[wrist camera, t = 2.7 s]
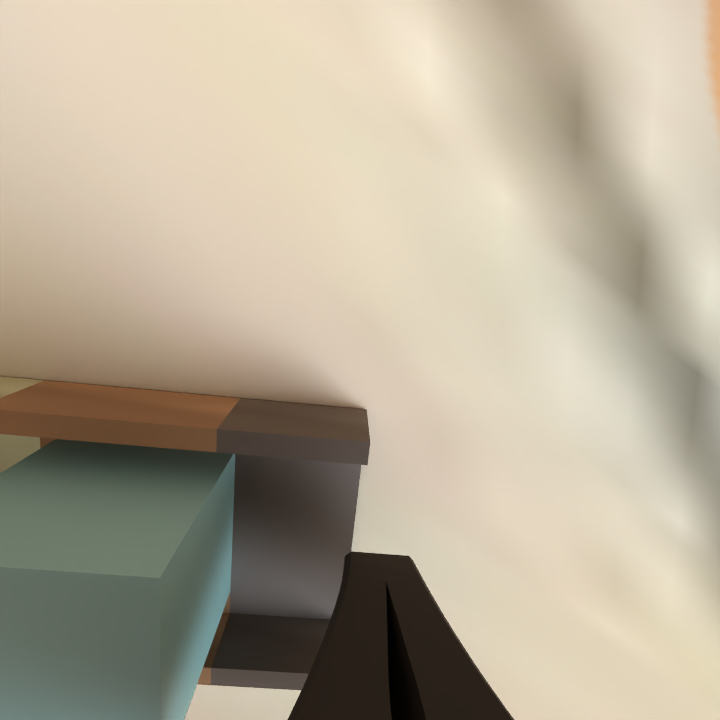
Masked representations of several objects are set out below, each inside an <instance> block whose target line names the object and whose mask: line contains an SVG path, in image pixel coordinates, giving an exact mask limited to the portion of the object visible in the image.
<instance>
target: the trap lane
mask: <svg viewBox="0 0 720 720" xmlns="http://www.w3.org/2000/svg"><path fill="white" fill-rule="evenodd" d="M55 439H64V440H76V441H88V442H99V443H111V444H123V445H135V446H147V447H159V448H170V449H182V450H194V451H206V452H218V453H230V454H235V480H234V507H233V534H232V562H231V589H230V593H229V596H228V599H227V602H226V605H225V607H224V610H223V613H222V616H221V619H220V621H219V624H218V627H217V630H216V633H215V635H214V638H213V641H212V644H211V647H210V649H209V652H208V655H207V658H206V661H205V663H204V666H203V669H202V672H201V674H200V677H199V680H198V683H197V684H202V685H219V686H237V687H255V688H272V689H290V690H302V688H303V686H304V684H305V681H306V679H307V677H308V674H309V672H310V670H311V667H312V665H313V663H314V660H315V658H316V656H317V653H318V651H319V649H320V646H321V644H322V641H323V639H324V636H325V633H326V630H327V627H328V625H329V622H330V619H331V616H332V613H333V610H334V607H335V604H336V601H337V597H338V594H339V590H340V587H341V583H342V576H343V567H344V559H345V556H346V555H347V554H348V553H350V552H351V547H352V538H353V530H354V521H355V513H356V504H357V496H358V487H359V478H360V470H361V465H367V464H368V456H369V447H370V437H369V428H368V419H367V410H365V409H354V408H343V407H332V406H321V405H310V404H299V403H288V402H277V401H266V400H255V399H244V398H233V397H222V396H211V395H200V394H189V393H178V392H167V391H156V390H145V389H134V388H123V387H112V386H101V385H90V384H79V383H68V382H57V381H47V380H36V379H25V378H14V377H3V376H0V473H1V472H3V471H5V470H6V469H8V468H10V467H11V466H13V465H14V464H16V463H18V462H19V461H21V460H23V459H24V458H26V457H27V456H29V455H31V454H32V453H34V452H36V451H37V450H39V449H40V448H42V447H44V446H45V445H47V444H49V443H50V442H52V441H53V440H55Z"/></svg>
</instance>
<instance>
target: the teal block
mask: <svg viewBox="0 0 720 720" xmlns="http://www.w3.org/2000/svg"><path fill="white" fill-rule="evenodd" d="M234 480H235V454H230V453H218V452H206V451H194V450H182V449H170V448H159V447H147V446H135V445H123V444H111V443H99V442H88V441H76V440H64V439H55V440H53V441H52V442H50V443H49V444H47V445H45V446H44V447H42V448H40V449H39V450H37V451H36V452H34V453H32V454H31V455H29V456H27V457H26V458H24V459H23V460H21V461H19V462H18V463H16V464H14V465H13V466H11V467H10V468H8V469H6V470H5V471H3V472H1V473H0V720H184V719H185V716H186V714H187V711H188V708H189V705H190V702H191V700H192V697H193V694H194V691H195V688H196V686H197V683H198V680H199V677H200V674H201V672H202V669H203V666H204V663H205V661H206V658H207V655H208V652H209V649H210V647H211V644H212V641H213V638H214V635H215V633H216V630H217V627H218V624H219V621H220V619H221V616H222V613H223V610H224V607H225V605H226V602H227V599H228V596H229V593H230V589H231V562H232V534H233V507H234Z"/></svg>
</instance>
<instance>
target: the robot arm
mask: <svg viewBox="0 0 720 720" xmlns="http://www.w3.org/2000/svg"><path fill="white" fill-rule="evenodd" d="M288 720H514V719H513V717H512V716H511V715H510V713H509V712H508V711H507V709H506V708H505V707H504V705H503V704H502V702H501V701H500V699H499V698H498V697H497V695H496V694H495V692H494V691H493V690H492V688H491V687H490V685H489V684H488V683H487V681H486V680H485V678H484V677H483V675H482V674H481V672H480V671H479V669H478V668H477V667H476V665H475V664H474V662H473V661H472V659H471V658H470V656H469V654H468V653H467V651H466V650H465V648H464V647H463V645H462V644H461V642H460V640H459V639H458V637H457V636H456V634H455V633H454V631H453V630H452V628H451V626H450V625H449V623H448V622H447V620H446V618H445V617H444V615H443V613H442V612H441V610H440V608H439V606H438V605H437V603H436V601H435V600H434V598H433V596H432V595H431V593H430V591H429V589H428V587H427V586H426V584H425V582H424V580H423V578H422V577H421V575H420V573H419V571H418V569H417V567H416V565H415V563H414V561H413V560H412V559H411V558H410V557H409V556H402V555H389V554H375V553H362V552H350V553H348V554H347V555H346V556H345V559H344V567H343V576H342V583H341V587H340V590H339V594H338V597H337V601H336V604H335V607H334V610H333V613H332V616H331V619H330V622H329V625H328V627H327V630H326V633H325V636H324V639H323V641H322V644H321V646H320V649H319V651H318V653H317V656H316V658H315V660H314V663H313V665H312V667H311V670H310V672H309V674H308V677H307V679H306V681H305V684H304V686H303V688H302V691H301V693H300V695H299V697H298V699H297V701H296V703H295V706H294V708H293V710H292V712H291V714H290V716H289V718H288Z"/></svg>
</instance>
